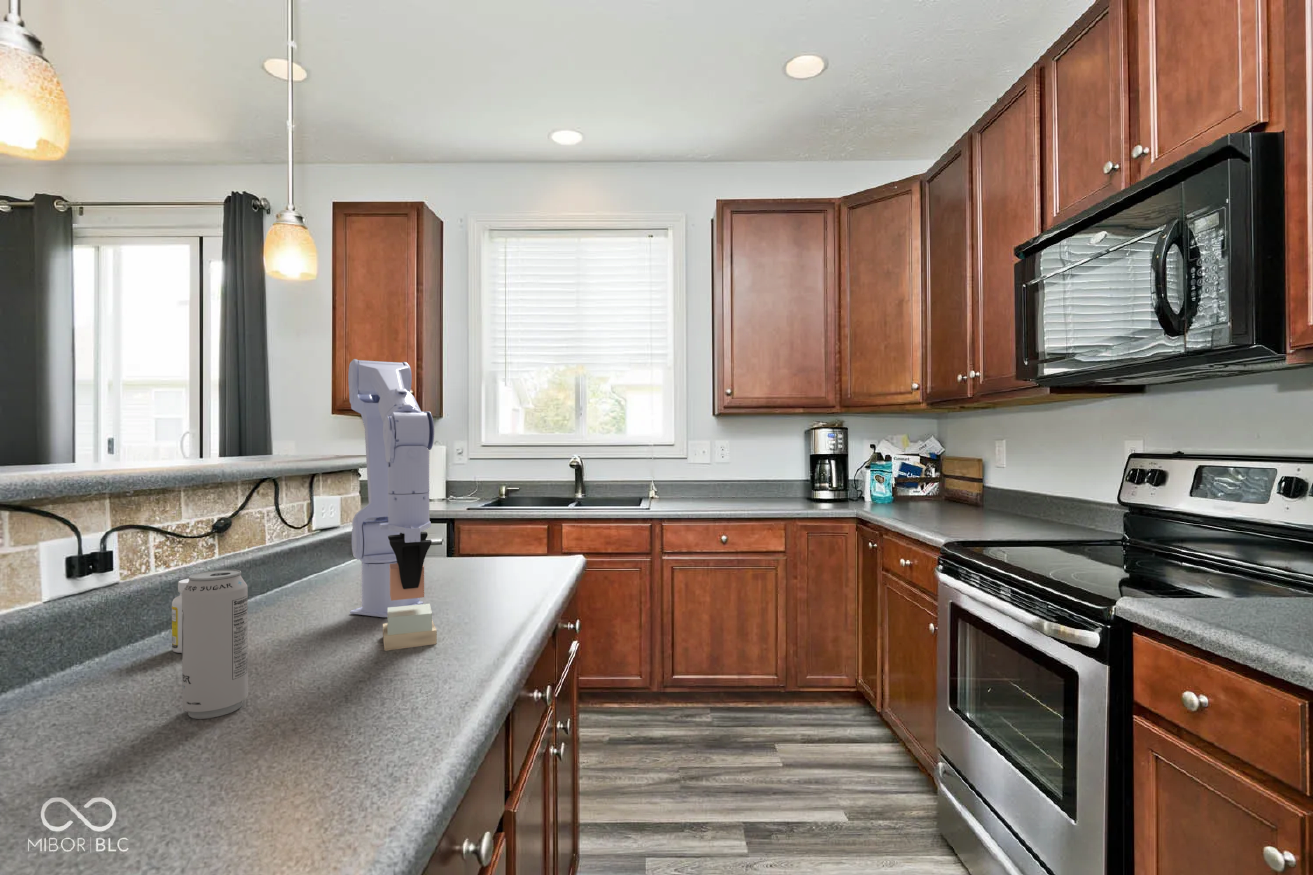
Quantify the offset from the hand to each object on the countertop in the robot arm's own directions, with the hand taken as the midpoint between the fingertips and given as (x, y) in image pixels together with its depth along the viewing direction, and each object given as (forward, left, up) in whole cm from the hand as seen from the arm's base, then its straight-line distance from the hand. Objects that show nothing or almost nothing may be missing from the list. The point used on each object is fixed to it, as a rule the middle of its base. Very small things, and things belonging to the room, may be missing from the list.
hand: (409, 584), depth 96 cm
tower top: (0, 0, -6) cm, 6 cm away
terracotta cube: (0, 0, -2) cm, 2 cm away
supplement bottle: (+13, -27, -8) cm, 31 cm away
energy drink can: (+27, -3, -8) cm, 28 cm away
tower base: (0, 0, -9) cm, 9 cm away
